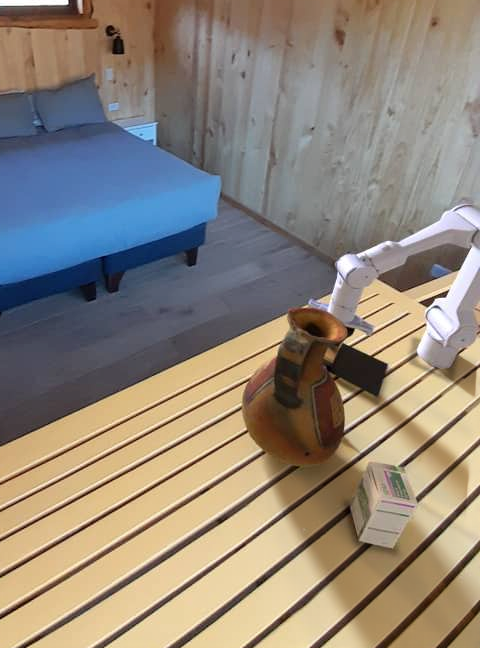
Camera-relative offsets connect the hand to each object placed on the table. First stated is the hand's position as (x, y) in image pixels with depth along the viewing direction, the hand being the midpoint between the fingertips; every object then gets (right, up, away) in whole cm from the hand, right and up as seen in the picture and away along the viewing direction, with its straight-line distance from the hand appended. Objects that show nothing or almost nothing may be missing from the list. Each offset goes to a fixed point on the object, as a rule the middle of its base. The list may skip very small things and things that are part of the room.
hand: (331, 341), depth 102 cm
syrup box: (-9, -22, -30) cm, 38 cm away
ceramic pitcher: (-18, -14, -14) cm, 27 cm away
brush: (0, -3, +2) cm, 4 cm away
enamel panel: (+5, -7, -1) cm, 9 cm away
